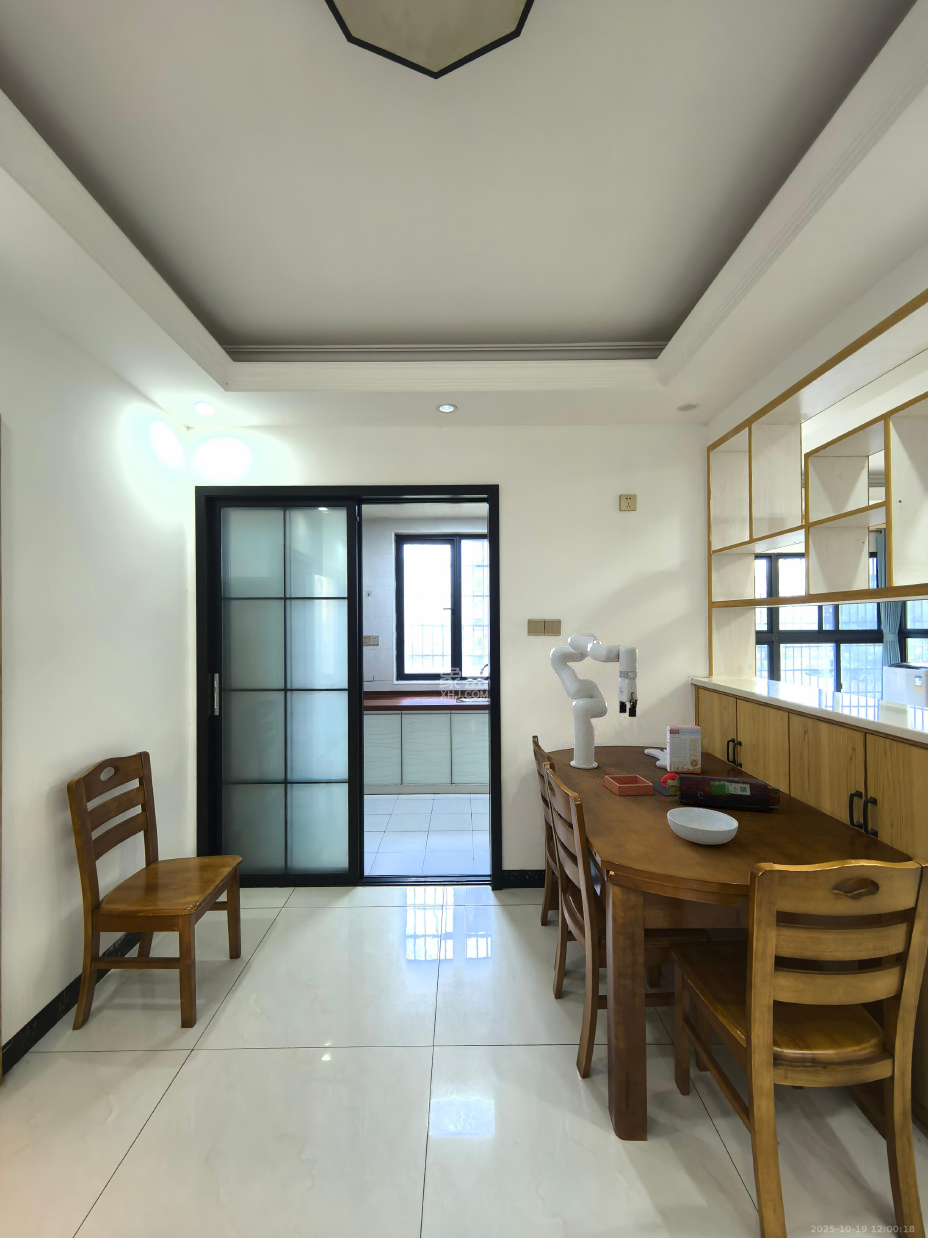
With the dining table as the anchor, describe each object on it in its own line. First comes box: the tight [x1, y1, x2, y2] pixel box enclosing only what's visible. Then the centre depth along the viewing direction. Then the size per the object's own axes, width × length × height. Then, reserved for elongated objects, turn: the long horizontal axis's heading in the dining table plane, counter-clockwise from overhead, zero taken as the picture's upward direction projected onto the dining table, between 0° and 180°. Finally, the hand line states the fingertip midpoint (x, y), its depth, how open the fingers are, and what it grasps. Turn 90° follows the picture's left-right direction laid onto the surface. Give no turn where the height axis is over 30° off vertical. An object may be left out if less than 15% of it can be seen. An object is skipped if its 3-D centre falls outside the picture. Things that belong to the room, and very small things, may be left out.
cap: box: [660, 772, 678, 788], centre depth 242 cm, size 8×6×6 cm
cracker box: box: [666, 724, 702, 774], centre depth 270 cm, size 14×6×21 cm, turn 84°
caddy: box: [603, 774, 654, 797], centre depth 241 cm, size 15×15×4 cm
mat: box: [649, 781, 677, 797], centre depth 242 cm, size 18×14×1 cm
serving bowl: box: [666, 806, 739, 846], centre depth 187 cm, size 21×21×7 cm
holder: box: [644, 748, 667, 770], centre depth 290 cm, size 19×34×5 cm, turn 175°
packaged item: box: [666, 773, 781, 813], centre depth 222 cm, size 39×10×10 cm, turn 76°
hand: (627, 715), depth 254 cm, fingers open, 9 cm apart
